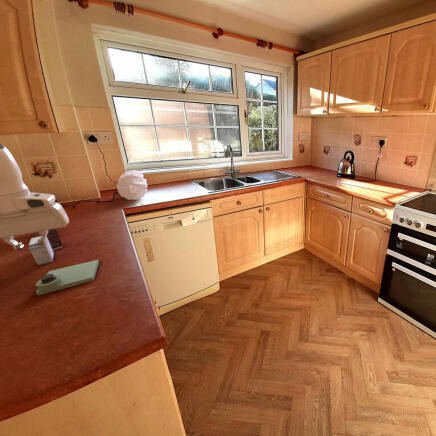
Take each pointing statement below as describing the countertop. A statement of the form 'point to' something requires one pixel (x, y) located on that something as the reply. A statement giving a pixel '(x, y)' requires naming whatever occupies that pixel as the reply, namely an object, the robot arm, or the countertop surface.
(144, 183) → the crumpled paper ball
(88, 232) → the countertop surface
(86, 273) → the scale
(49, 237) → the supplement box
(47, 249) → the medicine box
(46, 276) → the tare button
